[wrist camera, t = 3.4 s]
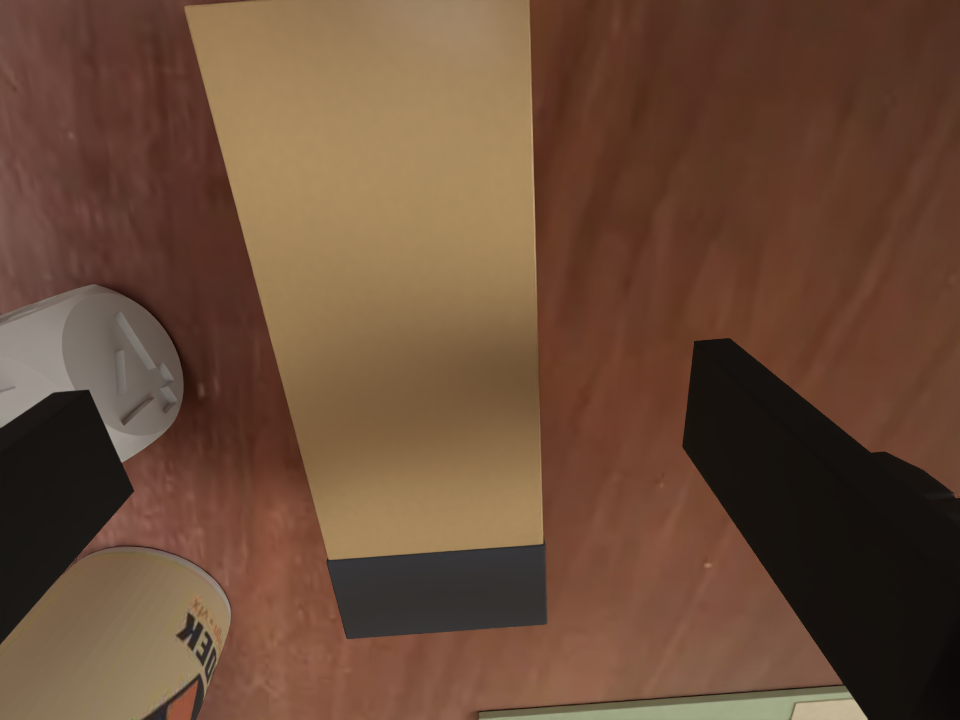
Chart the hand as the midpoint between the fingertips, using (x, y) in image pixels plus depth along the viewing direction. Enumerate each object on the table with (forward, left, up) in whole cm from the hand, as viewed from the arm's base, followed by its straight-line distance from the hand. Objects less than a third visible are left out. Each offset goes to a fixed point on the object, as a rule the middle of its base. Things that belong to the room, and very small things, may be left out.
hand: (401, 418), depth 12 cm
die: (+12, +1, -8) cm, 14 cm away
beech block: (0, 0, -8) cm, 8 cm away
